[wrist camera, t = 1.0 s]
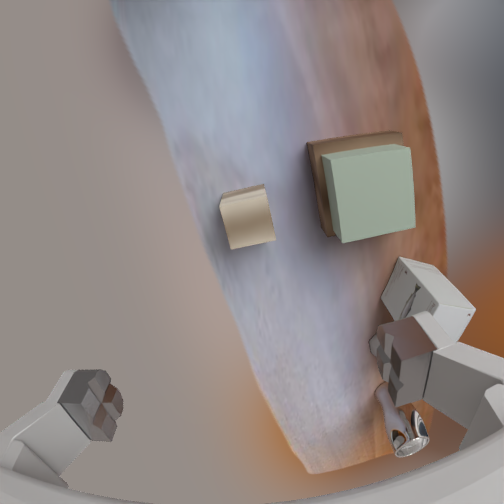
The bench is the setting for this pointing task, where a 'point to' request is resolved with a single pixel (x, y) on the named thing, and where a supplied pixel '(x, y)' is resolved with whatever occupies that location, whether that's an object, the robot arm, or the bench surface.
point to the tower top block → (370, 191)
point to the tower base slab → (341, 145)
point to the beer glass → (402, 424)
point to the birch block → (247, 217)
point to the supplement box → (426, 296)
